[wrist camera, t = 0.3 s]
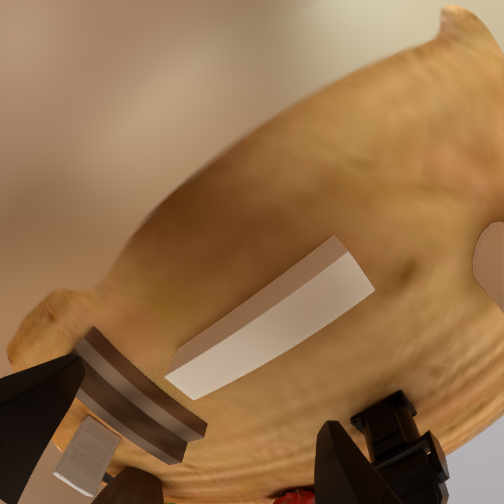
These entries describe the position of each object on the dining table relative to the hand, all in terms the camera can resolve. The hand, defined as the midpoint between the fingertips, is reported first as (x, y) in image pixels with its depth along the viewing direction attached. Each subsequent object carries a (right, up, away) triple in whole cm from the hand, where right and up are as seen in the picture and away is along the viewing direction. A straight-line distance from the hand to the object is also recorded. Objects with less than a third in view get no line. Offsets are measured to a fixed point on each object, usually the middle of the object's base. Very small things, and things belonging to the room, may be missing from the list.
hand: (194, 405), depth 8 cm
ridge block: (-11, -10, +17) cm, 23 cm away
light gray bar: (+3, 0, +13) cm, 13 cm away
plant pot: (-19, -37, +26) cm, 49 cm away
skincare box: (-21, -22, +22) cm, 37 cm away
